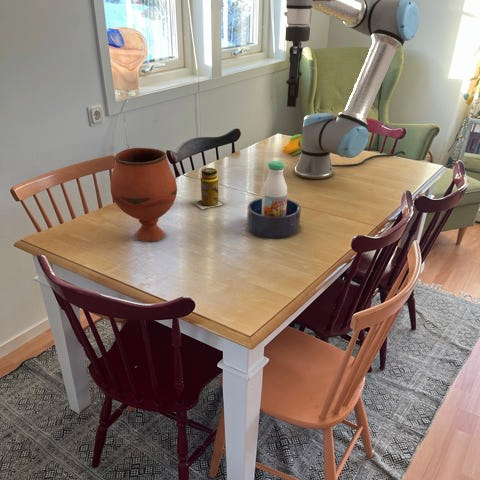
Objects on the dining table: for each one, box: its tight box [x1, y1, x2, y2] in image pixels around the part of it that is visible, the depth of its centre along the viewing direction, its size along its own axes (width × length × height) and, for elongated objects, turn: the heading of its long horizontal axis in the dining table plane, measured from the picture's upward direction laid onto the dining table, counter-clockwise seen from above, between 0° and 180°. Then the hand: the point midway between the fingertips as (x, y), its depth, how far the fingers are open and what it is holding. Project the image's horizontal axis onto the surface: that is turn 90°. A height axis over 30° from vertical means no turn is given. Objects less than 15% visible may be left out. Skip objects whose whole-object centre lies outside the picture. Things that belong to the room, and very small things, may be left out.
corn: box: [282, 133, 302, 156], centre depth 218 cm, size 7×8×20 cm
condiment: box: [192, 167, 224, 210], centre depth 166 cm, size 7×8×12 cm
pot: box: [246, 197, 302, 240], centre depth 152 cm, size 17×17×7 cm
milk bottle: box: [261, 160, 288, 217], centre depth 147 cm, size 8×8×20 cm
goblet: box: [109, 147, 178, 243], centre depth 141 cm, size 19×19×25 cm
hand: (292, 102), depth 155 cm, fingers open, 13 cm apart
